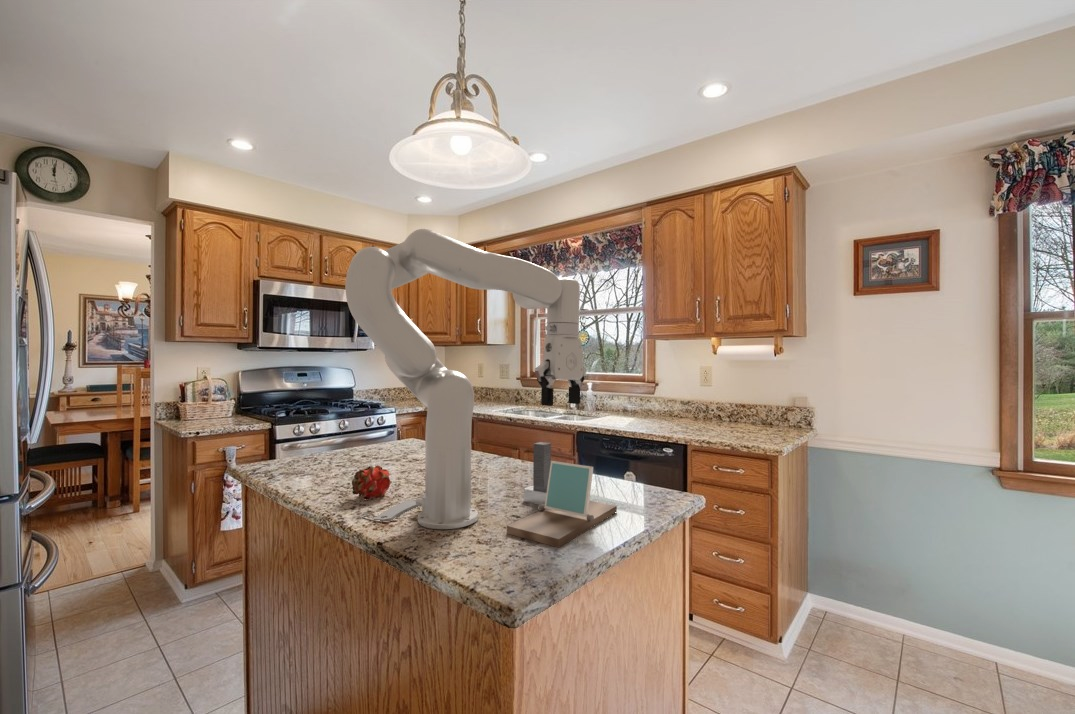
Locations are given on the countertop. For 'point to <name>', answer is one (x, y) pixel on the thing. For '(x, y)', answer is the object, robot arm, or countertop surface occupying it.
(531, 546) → the countertop surface
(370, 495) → the dragon fruit
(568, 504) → the tile
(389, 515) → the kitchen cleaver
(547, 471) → the rubber stamp
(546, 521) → the board
